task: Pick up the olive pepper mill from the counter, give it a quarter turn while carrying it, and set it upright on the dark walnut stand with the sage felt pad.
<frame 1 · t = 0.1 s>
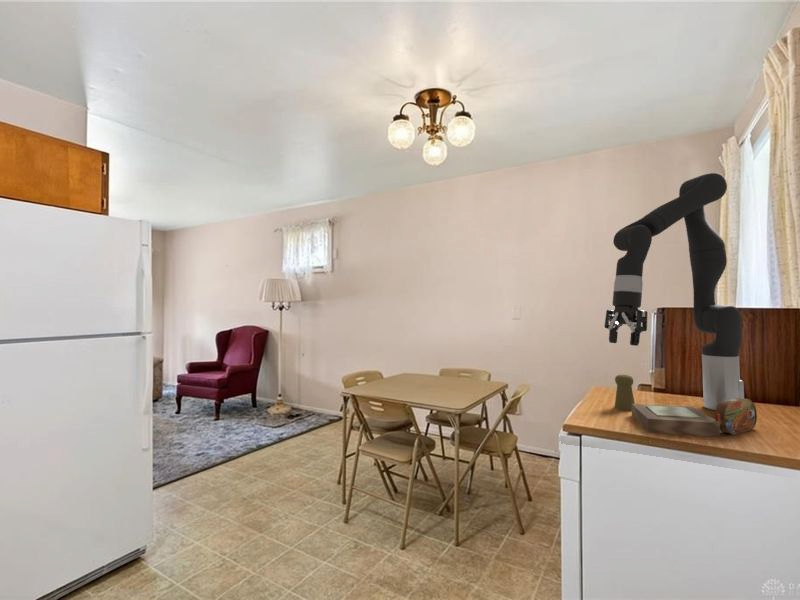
hand: (623, 344, 116), 22 cm above the countertop, tool pointing down, fingers open, 8 cm apart
stand: (671, 425, 108), on the countertop
olive pepper mill: (625, 409, 125), on the countertop
tin: (736, 431, 102), on the countertop
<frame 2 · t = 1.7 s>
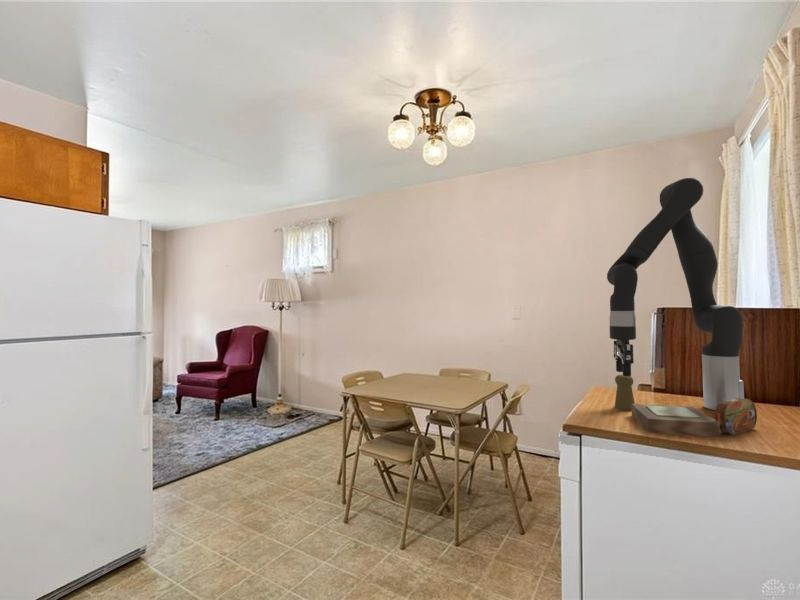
hand: (623, 373, 125), 11 cm above the countertop, tool pointing down, fingers open, 8 cm apart
nothing on the countertop moved.
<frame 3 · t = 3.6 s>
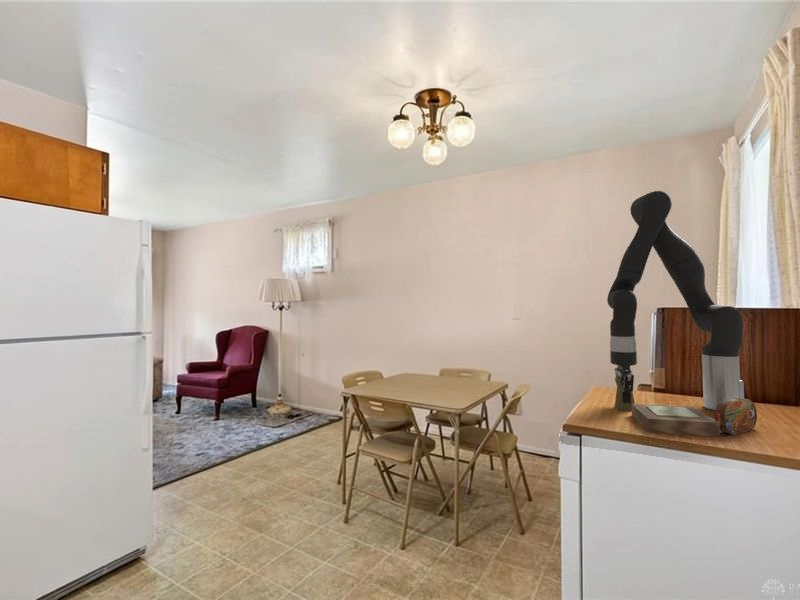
hand: (624, 401, 125), 2 cm above the countertop, tool pointing down, fingers closed on olive pepper mill, 4 cm apart
olive pepper mill: (625, 409, 125), on the countertop, touching gripper
everything else where it was.
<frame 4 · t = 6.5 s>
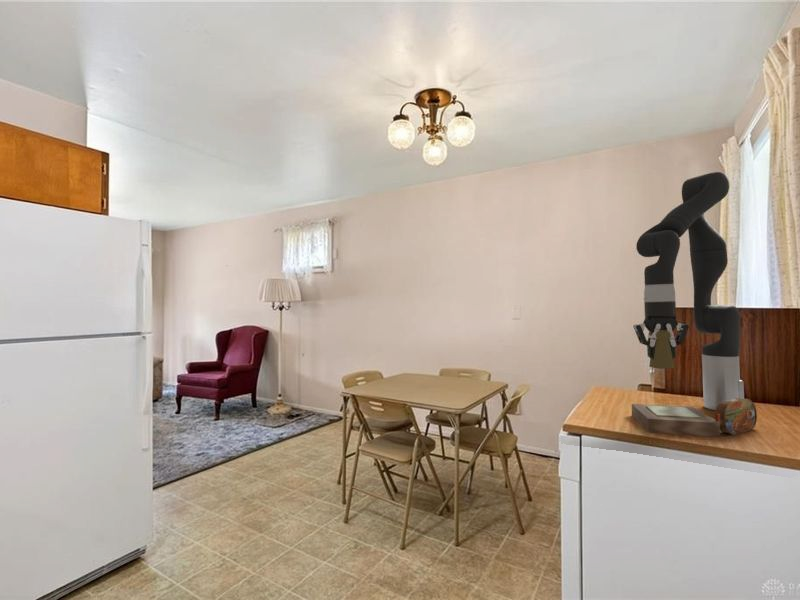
hand: (661, 359, 110), 18 cm above the countertop, tool pointing down, fingers closed on olive pepper mill, 4 cm apart
olive pepper mill: (661, 367, 110), point 16 cm above the countertop, touching gripper
everything else where it was.
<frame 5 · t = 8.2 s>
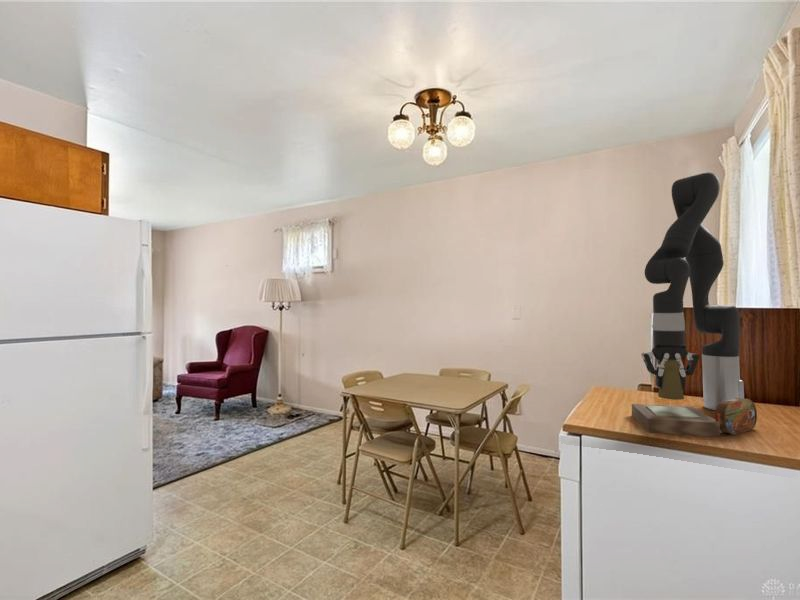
hand: (670, 389, 108), 10 cm above the countertop, tool pointing down, fingers closed on olive pepper mill, 4 cm apart
olive pepper mill: (670, 397, 108), point 8 cm above the countertop, touching gripper
everything else where it was.
when the fingers open (8 cm above the countertop, at t = 9.4 s): olive pepper mill drops 2 cm, resting on stand.
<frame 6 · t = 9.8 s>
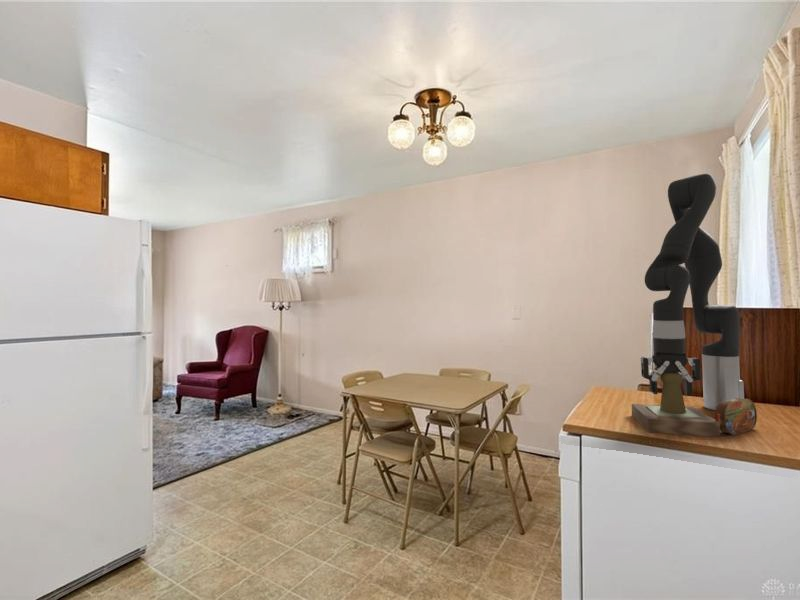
hand: (670, 394, 108), 9 cm above the countertop, tool pointing down, fingers open, 7 cm apart
olive pepper mill: (672, 411, 108), point 4 cm above the countertop, touching stand
everything else where it was.
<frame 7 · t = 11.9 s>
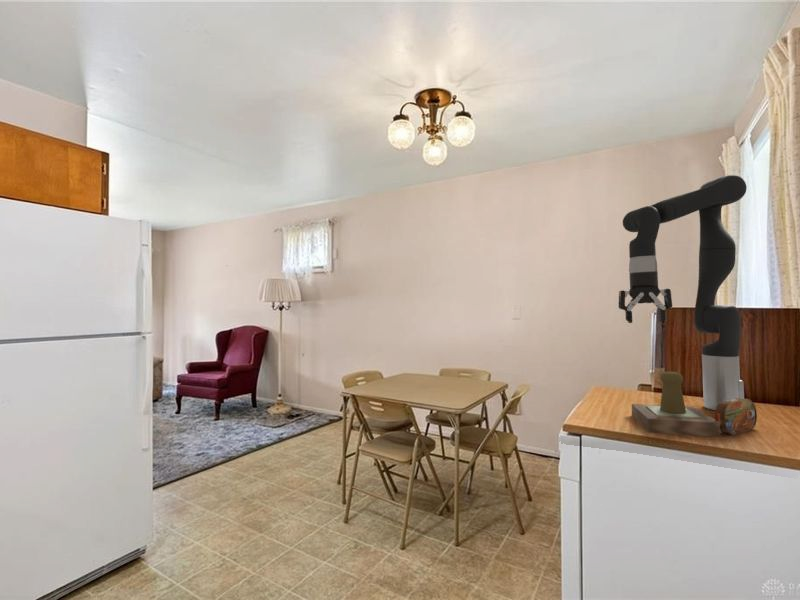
hand: (645, 322, 120), 28 cm above the countertop, tool pointing down, fingers open, 8 cm apart
nothing on the countertop moved.
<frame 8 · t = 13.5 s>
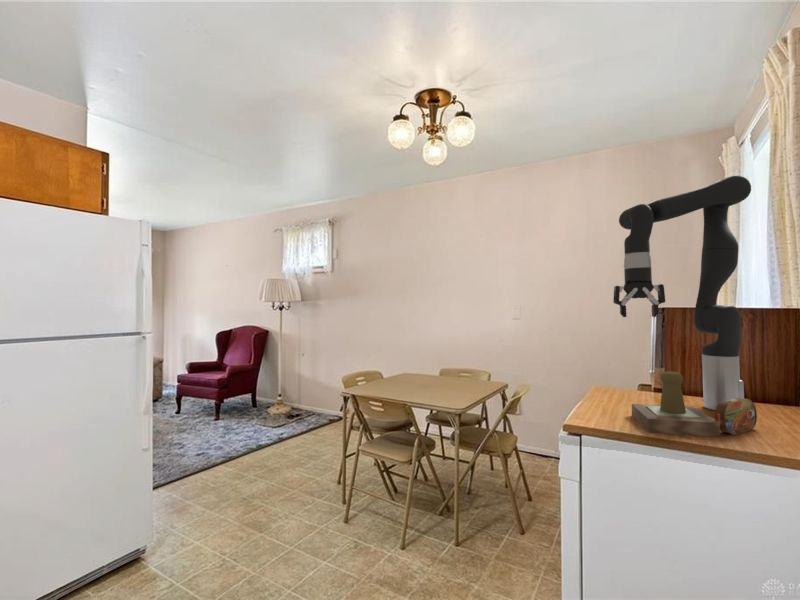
hand: (639, 316, 124), 30 cm above the countertop, tool pointing down, fingers open, 8 cm apart
nothing on the countertop moved.
at the end: olive pepper mill inside the target area on the stand (0.4 cm from its centre), point 3.8 cm above the stand's base; olive pepper mill tilted 0°; the gripper is holding nothing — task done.
